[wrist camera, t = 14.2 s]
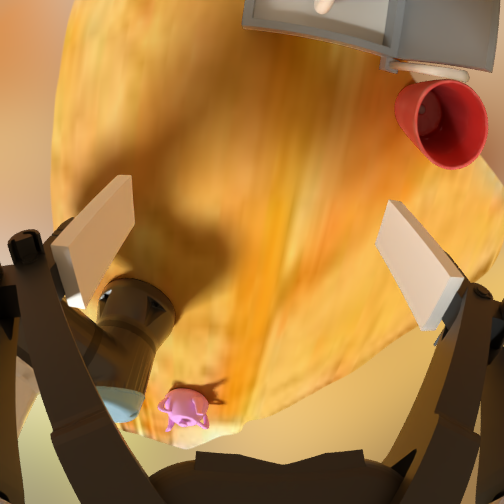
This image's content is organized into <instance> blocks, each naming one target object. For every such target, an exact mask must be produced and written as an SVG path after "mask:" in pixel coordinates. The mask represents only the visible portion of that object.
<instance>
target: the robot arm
mask: <svg viewBox="0 0 504 504" xmlns="http://www.w3.org/2000/svg"><path fill="white" fill-rule="evenodd" d="M134 225H135V217H134V204H133V190H132V175H117V176H116V177H115V178H114V179H113V180H112V181H111V182H110V183H109V184H108V185H107V186H106V187H105V188H104V189H103V190H102V191H101V192H99V193H98V194H97V195H96V196H95V197H94V198H93V199H92V200H91V201H90V203H89V204H88V205H87V206H86V207H85V208H84V209H83V210H82V211H81V212H80V213H79V214H78V215H77V216H76V217H75V218H73V217H72V218H70V219H68V220H66V221H65V222H63V223H62V224H61V225H60V226H59V227H58V228H57V230H55V231H54V233H53V234H52V236H50V237H49V238H48V239H47V240H46V241H45V242H44V244H42V240H41V236H40V233H39V232H38V231H37V230H34V229H31V230H30V229H29V230H24V231H21V232H19V233H17V234H15V235H14V236H12V237H11V239H10V240H9V241H8V248H9V251H10V254H11V257H12V260H13V263H14V265H7V266H1V264H0V504H25V502H24V489H23V480H22V473H21V466H20V458H19V450H18V437H19V434H20V432H21V430H22V428H23V425H24V423H25V421H26V419H27V417H28V414H29V412H30V410H31V408H32V406H33V404H34V402H35V400H36V398H37V395H38V394H41V397H42V400H43V403H44V406H45V408H46V412H47V414H48V417H49V420H50V422H51V425H52V428H53V432H52V433H51V440H52V443H53V446H54V449H55V451H56V453H57V456H58V457H59V460H60V463H61V464H62V467H63V469H64V471H65V473H66V475H67V477H68V479H69V482H70V484H71V485H72V487H73V489H74V491H75V493H76V495H77V497H78V499H79V501H80V502H81V504H460V503H461V501H462V498H463V496H464V493H465V490H466V487H467V485H468V482H469V479H470V476H471V473H472V470H473V467H474V464H475V460H476V457H477V454H478V450H479V447H480V455H479V468H478V477H477V486H476V504H504V347H503V345H504V299H503V300H502V302H498V301H495V300H493V296H492V294H491V293H490V292H489V291H488V290H487V289H486V288H485V287H483V286H482V285H480V284H477V283H470V281H469V280H468V279H467V277H466V276H465V275H464V273H463V272H462V271H461V269H460V268H458V266H457V264H456V263H454V261H453V259H452V258H451V257H450V256H449V254H447V253H446V252H445V251H444V250H442V248H441V247H440V246H439V245H438V243H437V242H436V241H435V240H434V239H433V237H432V236H431V235H430V234H429V233H428V232H427V230H426V229H425V228H424V227H423V226H422V225H421V223H420V222H419V221H418V220H417V219H416V218H415V217H414V216H413V214H412V213H411V212H410V211H409V210H408V209H407V208H406V207H405V206H404V205H403V203H402V202H400V201H394V200H388V204H387V207H386V210H385V214H384V217H383V220H382V224H381V227H380V230H379V233H378V236H377V239H376V242H375V245H376V247H377V249H378V250H379V252H380V254H381V256H382V257H383V259H384V261H385V263H386V264H387V266H388V268H389V270H390V272H391V273H392V275H393V277H394V279H395V281H396V283H397V284H398V286H399V288H400V290H401V292H402V294H403V296H404V298H405V299H406V301H407V303H408V305H409V307H410V309H411V311H412V313H413V315H414V317H415V319H416V321H417V323H418V325H419V327H420V329H421V331H429V330H436V328H437V326H438V325H439V323H440V321H441V320H443V322H444V324H445V328H444V329H443V330H442V332H441V334H440V335H439V337H438V338H437V340H436V341H435V343H434V346H436V345H437V346H436V349H435V352H434V356H433V358H432V360H431V363H430V366H429V368H428V371H427V373H426V376H425V379H424V381H423V383H422V386H421V388H420V390H419V393H418V395H417V397H416V400H415V402H414V404H413V407H412V409H411V411H410V413H409V415H408V417H407V419H406V422H405V423H404V426H403V427H402V429H401V431H400V433H399V435H398V437H397V439H396V441H395V443H394V445H393V447H392V449H391V451H390V452H389V454H388V455H387V457H386V458H385V459H384V460H383V462H382V463H379V462H376V461H372V460H368V459H364V455H363V450H362V449H361V450H354V451H344V452H334V453H325V454H321V455H318V456H315V457H311V458H308V459H305V460H301V461H298V462H294V463H290V464H285V465H281V464H276V463H272V462H267V461H263V460H259V459H255V458H251V457H247V456H243V455H240V454H223V453H211V452H200V451H196V459H195V460H191V461H185V462H180V463H176V464H174V465H171V466H168V467H166V468H164V469H161V470H159V471H158V472H156V473H155V474H153V475H151V476H150V477H148V475H147V474H146V472H145V471H144V470H143V468H142V466H141V465H140V463H139V462H138V460H137V459H136V457H135V456H134V454H133V453H132V451H131V450H130V448H129V447H128V445H127V443H126V441H125V440H124V438H123V437H122V435H121V433H120V431H119V430H118V428H117V426H116V424H115V423H123V422H129V421H132V420H133V419H135V418H136V417H137V416H138V414H139V411H140V409H141V406H142V403H143V401H144V399H145V392H146V388H147V384H148V380H149V376H150V372H151V369H152V365H153V361H154V357H155V354H156V351H157V350H158V348H159V347H160V346H161V345H162V343H163V342H164V341H165V340H166V338H167V337H168V336H169V335H170V333H171V331H172V329H173V326H174V322H175V310H174V307H173V305H172V303H171V302H170V300H169V299H168V298H167V297H166V296H165V295H164V294H163V293H162V292H161V291H160V290H158V289H157V288H155V287H154V286H152V285H150V284H148V283H146V282H143V281H140V280H136V279H128V278H124V279H117V280H114V281H112V282H110V283H109V284H108V285H107V286H106V287H105V288H104V290H103V292H102V294H101V296H100V298H99V302H98V311H97V324H96V323H94V322H93V321H92V320H91V319H90V318H88V317H87V316H86V315H85V314H84V313H82V312H81V311H80V310H79V309H78V308H82V309H86V307H87V305H88V303H89V301H90V300H91V298H92V296H93V294H94V292H95V290H96V289H97V287H98V285H99V283H100V281H101V280H102V278H103V276H104V274H105V273H106V271H107V269H108V267H109V266H110V264H111V262H112V261H113V259H114V257H115V256H116V254H117V252H118V251H119V249H120V247H121V246H122V244H123V242H124V241H125V239H126V238H127V236H128V234H129V233H130V231H131V230H132V228H133V226H134ZM64 295H65V297H64ZM437 343H438V344H437ZM480 401H481V435H479V434H477V433H475V432H473V431H474V426H475V422H476V418H477V414H478V410H479V406H480ZM114 422H115V423H114Z"/></svg>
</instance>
